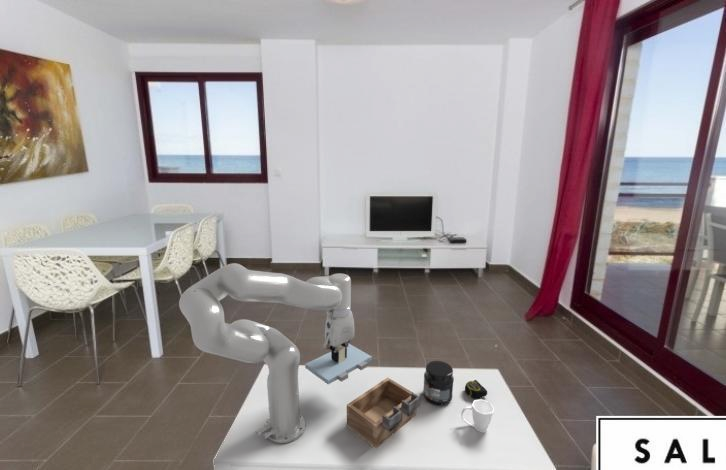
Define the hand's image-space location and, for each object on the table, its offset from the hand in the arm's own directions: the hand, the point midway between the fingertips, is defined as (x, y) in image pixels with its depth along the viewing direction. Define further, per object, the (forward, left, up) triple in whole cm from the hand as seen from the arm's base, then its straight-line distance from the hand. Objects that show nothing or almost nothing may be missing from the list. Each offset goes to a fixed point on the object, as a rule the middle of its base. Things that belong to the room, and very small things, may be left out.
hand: (339, 358), depth 126 cm
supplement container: (+26, -24, -17) cm, 40 cm away
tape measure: (+38, -33, -17) cm, 53 cm away
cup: (+23, -41, -17) cm, 50 cm away
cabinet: (+3, -19, -17) cm, 26 cm away
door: (0, 0, -2) cm, 2 cm away
